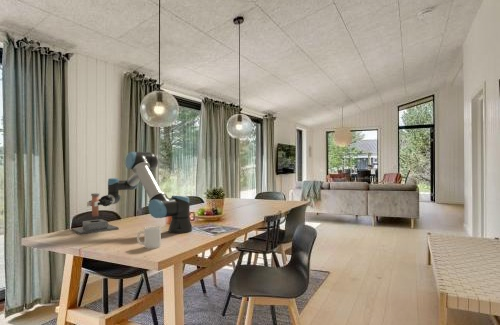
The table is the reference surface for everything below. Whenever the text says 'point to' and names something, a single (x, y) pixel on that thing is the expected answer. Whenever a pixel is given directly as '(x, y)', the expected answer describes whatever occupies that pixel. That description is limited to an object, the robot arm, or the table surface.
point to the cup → (151, 237)
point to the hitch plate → (81, 230)
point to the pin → (94, 199)
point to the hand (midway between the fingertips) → (91, 204)
